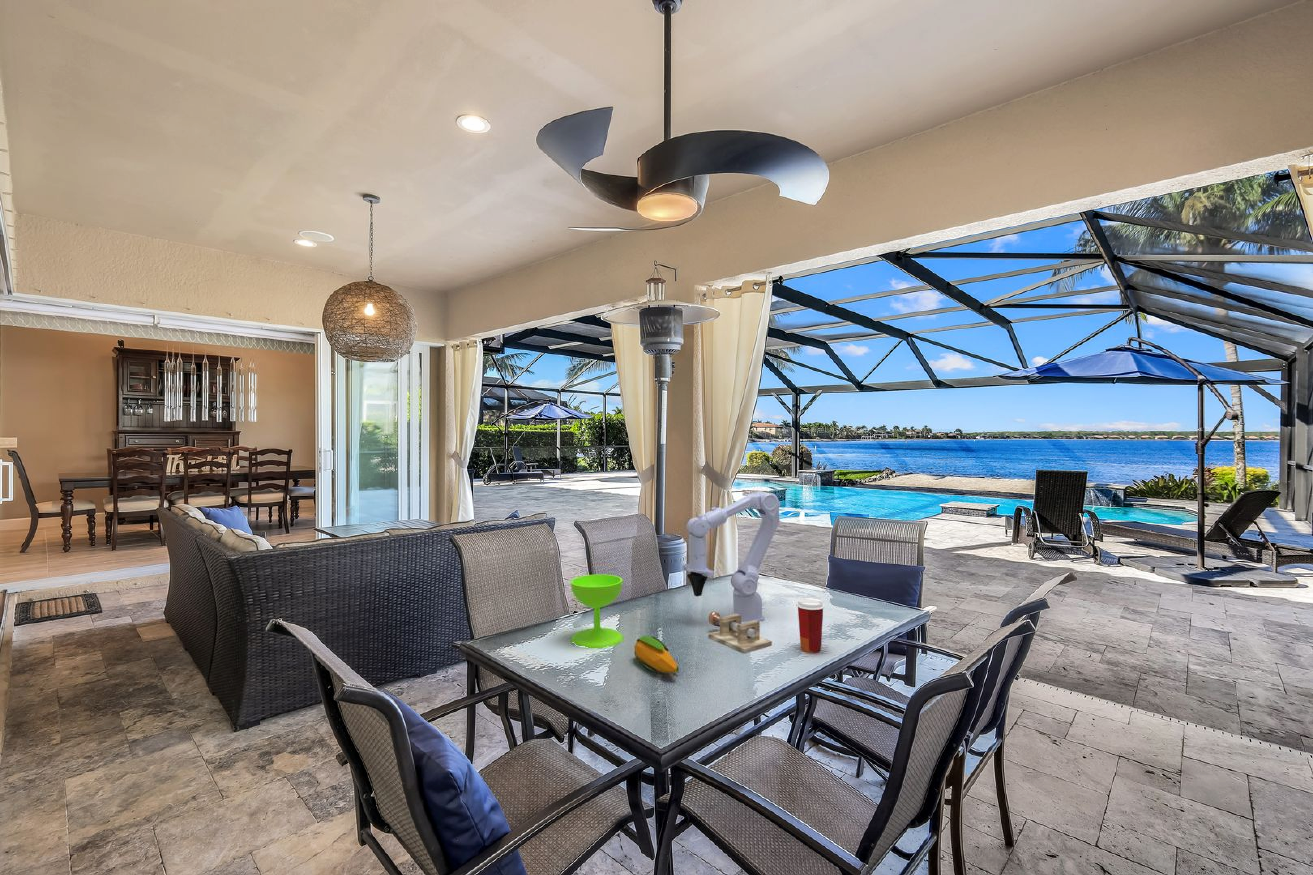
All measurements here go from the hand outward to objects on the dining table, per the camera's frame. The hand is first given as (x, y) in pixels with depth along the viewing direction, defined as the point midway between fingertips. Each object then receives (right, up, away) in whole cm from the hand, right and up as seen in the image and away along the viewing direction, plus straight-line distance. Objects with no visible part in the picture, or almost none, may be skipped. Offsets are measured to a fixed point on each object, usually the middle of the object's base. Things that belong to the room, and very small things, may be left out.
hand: (697, 595), depth 188 cm
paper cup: (+31, -9, -24) cm, 40 cm away
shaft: (+10, -7, -14) cm, 18 cm away
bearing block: (+11, -9, -17) cm, 22 cm away
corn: (-13, -10, -36) cm, 40 cm away
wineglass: (-32, -10, -13) cm, 36 cm away
